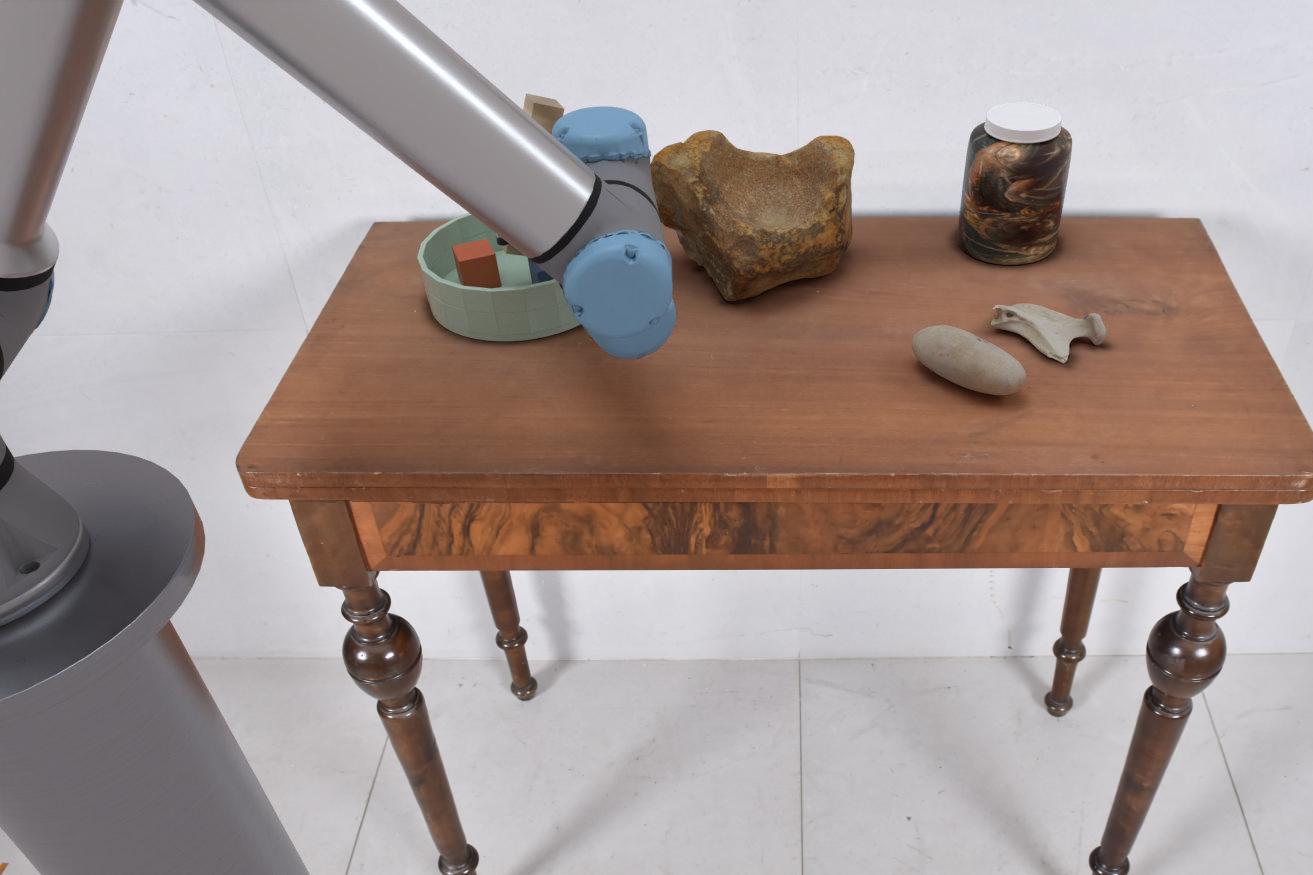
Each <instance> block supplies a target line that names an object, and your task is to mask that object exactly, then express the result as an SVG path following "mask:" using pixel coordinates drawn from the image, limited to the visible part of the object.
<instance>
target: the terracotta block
mask: <svg viewBox="0 0 1313 875" xmlns="http://www.w3.org/2000/svg"><path fill="white" fill-rule="evenodd" d="M452 250H453V255H454V259H455V264H456V268H457V273H458V277H459V280H460V282H461V284H462V285H463V286H471V287H481V288H491V289H492V288H496V287H501V286H502V285H501V280H500V275H499V269H498V264H497V259H496V254H495V252H494V250H493V249H492V247H491V245H490V243H489V241H488V239H484V240H479V241H474V242H469V243H464V244H459V245H454V246H452Z"/></svg>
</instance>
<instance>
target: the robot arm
mask: <svg viewBox="0 0 1313 875" xmlns="http://www.w3.org/2000/svg"><path fill="white" fill-rule="evenodd" d="M124 2H125V0H0V381H2V379H3V377H4V376H5V375H6V373H7V372H8V370H9V368H10V367H11V365H12V364H13V362H14V361H15V359H16V358H17V356H18V355H19V353H20V352H21V350H22V349H23V347H24V346H25V344H26V342H27V341H28V340H29V339H30V337H31V336H32V334H33V333H34V332H35V330H36V329H38V328H39V327H40V325H41V324H42V323H43V321H44V319H45V318H46V316H47V314H48V312H49V309H50V306H51V303H52V300H53V294H54V288H55V270H54V269H55V267H56V264H57V262H58V259H59V256H60V255H59V254H60V242H59V238H58V236H57V235H56V232H55V231H54V229H53V228H52V227H51V225H50V224H49V223H48V222H47V220H48V216H49V213H50V211H51V208H52V205H53V202H54V200H55V196H56V194H57V190H58V187H59V185H60V182H61V179H62V177H63V173H64V172H65V168H66V166H67V163H68V160H69V157H70V154H71V152H72V148H73V146H74V143H75V140H76V137H77V134H78V132H79V128H80V126H81V123H82V121H83V117H84V114H85V112H86V109H87V106H88V103H89V101H90V98H91V95H92V92H93V89H94V86H95V83H96V81H97V78H98V75H99V72H100V70H101V67H102V64H103V61H104V58H105V56H106V53H107V50H108V47H109V44H110V41H111V39H112V35H113V33H114V30H115V27H116V24H117V21H118V19H119V16H120V13H121V11H122V7H123V4H124ZM192 2H194V3H195V4H197V5H198V6H199V7H200V8H201V9H203V10H204V11H206V12H207V13H208V14H209V15H210V16H212V17H213V18H215V19H216V20H217V21H218V22H220V23H221V24H223V25H224V26H225V27H226V28H228V30H230V31H231V32H233V33H234V34H236V35H237V36H238V37H239V38H241V39H242V40H243V41H245V43H247V44H249V45H250V46H251V47H252V48H254V49H255V50H257V51H258V52H259V53H260V54H262V55H263V56H264V57H265V58H267V59H268V61H271V62H272V63H273V64H275V65H276V66H277V67H278V68H280V70H282V71H284V72H285V73H287V74H288V75H289V76H290V77H292V78H293V79H294V80H295V81H296V82H298V83H299V84H301V85H302V86H303V87H305V88H306V89H307V90H309V91H310V92H311V93H312V94H313V95H315V96H316V97H317V98H319V99H320V100H321V101H323V102H324V103H325V104H327V105H328V106H329V107H330V108H332V109H334V110H335V111H336V112H337V113H338V114H340V115H341V116H342V117H344V118H345V119H346V120H347V121H348V122H350V123H351V124H353V125H354V126H355V127H356V128H358V129H359V130H361V131H362V132H363V133H364V134H366V135H367V136H368V137H370V138H371V139H372V140H374V141H375V142H376V143H378V144H379V145H380V146H381V147H383V148H384V149H385V150H387V151H388V152H389V153H390V154H392V155H393V156H394V157H396V158H397V159H398V160H400V161H401V162H402V163H403V164H405V165H406V166H407V167H409V168H410V169H411V170H413V171H414V172H415V173H416V174H418V175H419V176H421V177H422V178H423V179H424V180H426V181H427V182H428V183H430V184H431V185H432V186H433V187H435V188H436V189H438V190H439V191H440V192H441V193H443V195H445V196H447V198H449V199H450V200H452V201H453V202H454V203H456V204H457V205H458V206H459V207H461V208H462V209H464V210H465V211H466V212H468V213H470V214H471V215H473V216H474V217H475V218H477V219H478V220H479V221H481V222H482V223H483V224H484V225H486V226H487V227H488V228H490V229H491V230H492V231H494V232H495V235H496V240H497V244H498V245H500V246H505V245H508V244H511V245H512V246H513V247H514V248H516V249H517V250H518V251H520V252H521V253H522V254H524V255H525V256H526V257H527V258H529V259H530V260H531V261H533V262H534V263H535V264H536V265H538V266H539V267H540V268H541V269H543V270H544V271H545V272H546V273H548V274H549V275H550V276H551V277H553V278H554V279H555V280H556V281H557V283H558V285H559V286H560V288H561V289H562V291H563V295H564V298H565V299H566V301H567V302H568V305H569V308H570V310H571V312H572V313H573V315H574V317H575V318H576V319H577V321H578V322H579V323H580V324H581V325H580V326H582V327H583V329H584V330H585V333H586V334H587V335H589V337H590V338H591V339H592V340H593V341H594V342H595V343H596V344H597V345H598V346H599V347H600V349H601V350H602V351H604V352H605V353H606V354H608V355H609V356H612V357H613V358H617V359H620V360H621V359H622V360H636V359H641V358H643V357H647V356H650V355H651V354H653V353H655V352H656V351H658V350H659V349H660V348H662V347H663V346H664V344H665V343H667V341H668V340H669V338H670V337H671V336H672V333H673V331H674V329H675V327H676V322H677V307H676V303H675V301H674V298H673V292H674V290H673V289H674V285H673V260H672V255H671V253H670V251H669V250H668V246H667V243H666V238H665V234H664V231H663V230H664V229H663V227H662V222H660V217H659V212H658V207H657V203H656V198H655V194H654V189H653V185H652V177H651V157H652V151H651V149H650V146H649V145H650V144H649V138H648V130H647V125H646V123H645V121H644V119H643V118H642V117H641V116H640V114H637V113H636V112H634V111H632V110H629V109H626V108H622V107H618V106H610V105H609V106H608V105H607V106H605V105H602V106H601V105H600V106H590V107H589V106H588V107H582V108H579V109H575V110H572V111H570V112H568V113H564V114H563V116H562V117H561V118H560V119H558V120H557V122H556V123H555V124H554V126H553V129H552V135H551V134H550V133H549V132H548V131H547V130H545V129H544V128H543V127H542V126H541V125H540V124H538V123H537V122H536V121H535V120H534V119H533V118H532V117H530V116H529V115H528V114H527V113H526V112H525V111H523V108H521V107H520V106H519V105H518V104H517V103H516V102H514V101H513V100H512V98H510V97H509V96H508V95H506V94H505V93H504V92H503V91H502V90H501V89H499V88H498V86H496V85H495V84H494V83H492V82H491V81H490V80H489V79H488V78H487V77H486V76H485V75H483V74H482V73H481V72H480V71H479V70H478V69H477V68H476V67H474V66H473V65H471V63H470V62H468V61H467V60H466V59H465V58H464V57H463V56H461V55H460V54H459V53H458V52H457V51H456V50H455V49H453V48H452V47H451V46H450V45H449V44H447V43H446V42H445V40H443V39H442V38H441V37H439V36H438V35H437V34H436V33H435V32H434V31H433V30H432V29H430V28H429V27H428V26H427V25H425V24H424V23H423V22H422V21H421V20H420V19H419V18H418V17H416V16H415V15H414V14H413V13H412V12H411V11H410V10H408V9H407V8H406V7H405V6H404V5H402V4H401V3H400V2H399V1H398V0H192ZM14 457H15V456H14V455H13V453H12V452H11V450H10V448H9V447H8V445H7V443H6V442H5V440H4V439H3V436H2V435H1V434H0V626H2V625H4V624H7V623H9V622H11V621H13V620H15V619H17V618H19V617H21V616H23V615H25V614H26V613H28V612H30V611H32V610H33V609H35V608H36V607H38V606H39V605H41V604H42V603H44V602H45V601H47V600H48V599H49V598H51V597H52V596H53V595H55V594H56V593H57V592H58V591H59V590H60V589H62V588H63V587H64V586H65V585H66V584H67V583H68V582H69V581H70V580H71V578H72V577H73V576H74V575H75V574H76V572H77V571H78V570H79V568H80V567H81V565H82V563H83V562H84V559H85V557H86V555H87V552H88V549H89V534H88V531H87V529H86V526H85V525H84V523H83V521H82V520H81V518H80V516H79V514H78V513H77V511H76V510H75V508H74V507H73V506H72V505H71V504H70V503H68V502H67V501H66V500H65V499H64V498H62V497H61V496H60V495H59V494H58V493H56V492H55V491H54V490H52V489H51V488H50V487H49V486H47V485H46V484H45V483H43V482H42V481H41V480H40V479H38V478H37V477H36V476H35V475H33V474H32V473H31V472H29V471H28V470H27V469H26V468H24V467H23V466H22V465H20V464H19V463H18V462H17V461H16V460H15V458H14Z"/></svg>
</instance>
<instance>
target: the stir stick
mask: <svg viewBox="0 0 1313 875" xmlns="http://www.w3.org/2000/svg"><path fill="white" fill-rule="evenodd" d="M522 110H523V111H525V112H526V113H527V114H528V115H529V116H530V117H532V118H533V119H534V120H535V121H536V122H537V123H538V124H540V125H541V126H542V127H543V128H544V129H545V130H547V131H548V132H549V133H550V134H551V135H552V129H553V126H554V124H555V123H556V122H557V120H558V119H560V118H561V117H562V116H564V115H565V107H564V106H563V105H562V104H561V103H560V102H559V101H558V100H557V99H554V98H550V97H545V96H540V95H537V94H536V95H535V94H531V93H525V95H524V102H523V108H522ZM502 248H503V250H504V251H505V253H506V254H513V255H520V256H525V255H524V254H522V253H521V252H520V251H518V250H517V249H516V248H514V247H513V246H512V245H511V244H508V245H505V246H502Z"/></svg>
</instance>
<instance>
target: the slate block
mask: <svg viewBox="0 0 1313 875" xmlns="http://www.w3.org/2000/svg"><path fill="white" fill-rule="evenodd" d="M528 263H529V269H530V274H531V280H532V284H536V283H541V282H545V281H550V280H553V279H554V278H553V277H551V276H550V275H549V274H548V273H546V272H545V271H544V270H543V269H541V268H540V267H539V266H538V265H536V264H535V263H534V262H533V261H531V260H530V259H529V258H528Z"/></svg>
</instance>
